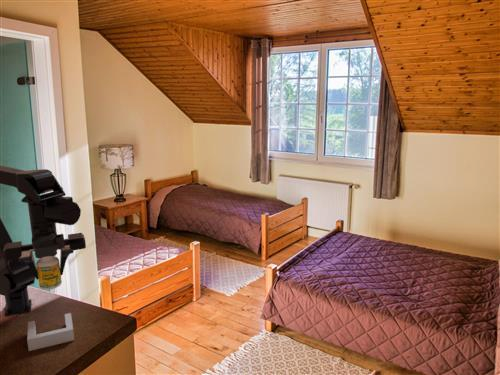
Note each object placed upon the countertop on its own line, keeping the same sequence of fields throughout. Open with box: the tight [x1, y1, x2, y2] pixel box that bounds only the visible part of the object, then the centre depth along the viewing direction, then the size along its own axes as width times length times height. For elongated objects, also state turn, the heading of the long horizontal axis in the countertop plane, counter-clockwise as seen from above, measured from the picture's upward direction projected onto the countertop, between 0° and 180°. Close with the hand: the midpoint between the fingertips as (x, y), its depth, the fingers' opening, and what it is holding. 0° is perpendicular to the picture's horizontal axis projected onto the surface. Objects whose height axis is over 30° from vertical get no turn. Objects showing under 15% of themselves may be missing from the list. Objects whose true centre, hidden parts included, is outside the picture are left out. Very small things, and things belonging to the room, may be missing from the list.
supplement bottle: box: [35, 255, 63, 291], centre depth 109 cm, size 5×5×10 cm
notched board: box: [26, 312, 75, 352], centre depth 104 cm, size 8×10×3 cm
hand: (49, 276), depth 110 cm, fingers closed on supplement bottle, 5 cm apart
